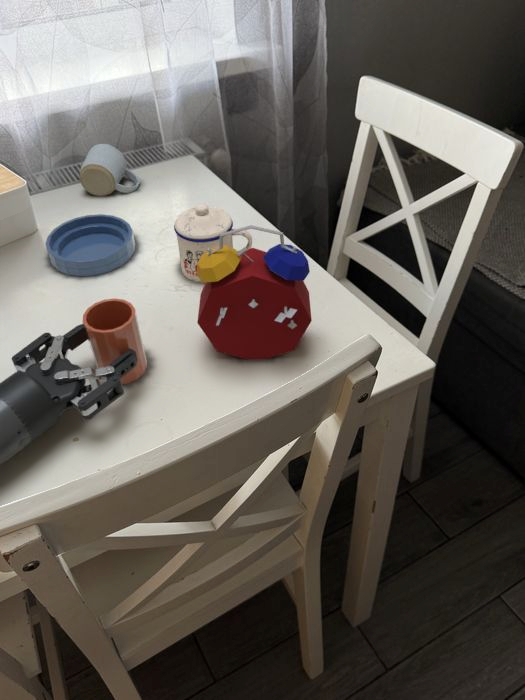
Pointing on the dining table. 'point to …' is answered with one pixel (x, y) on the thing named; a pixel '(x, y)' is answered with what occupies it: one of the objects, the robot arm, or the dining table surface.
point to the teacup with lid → (202, 235)
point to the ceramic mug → (105, 171)
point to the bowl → (90, 245)
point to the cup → (114, 335)
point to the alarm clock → (254, 298)
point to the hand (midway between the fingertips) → (111, 340)
